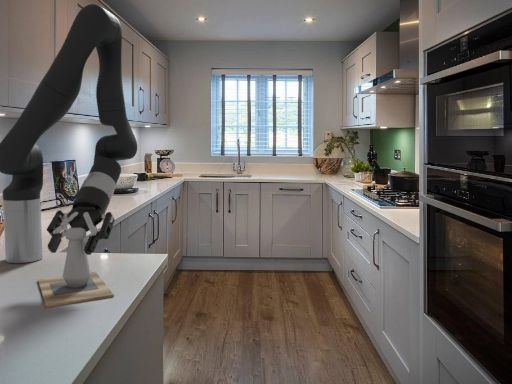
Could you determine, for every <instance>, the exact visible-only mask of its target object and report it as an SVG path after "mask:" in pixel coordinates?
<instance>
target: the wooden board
mask: <svg viewBox="0 0 512 384" xmlns="http://www.w3.org/2000/svg"><path fill="white" fill-rule="evenodd" d="M90 272H91V275H90V278H89V280H88V283H87V284H86V285H85V286H83V287H78V288H71V287H68V285H67V283H66V282H65V280H64V279H63V275H60V276H59V275H58V276H51V277H43V278H38V279H37V281H38V284H39V286H38V287H39V288H40V292H41V295H42V298H43V302H44V304H45V307H46V308H51V307H58V306H64V305H70V304H71V305H72V304H76V303H83V302H90V301H96V300H102V299H108V298H113V297H115V296H114V294H115V293H113V291H111V289H110V288H109V287H108V285H107V284H106V283H105V282H104V281H103V279H102V278H101V277H100V275H99V274H98V273H97V272H96V271H90Z"/></svg>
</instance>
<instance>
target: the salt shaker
mask: <svg viewBox="0 0 512 384" xmlns="http://www.w3.org/2000/svg"><path fill="white" fill-rule="evenodd" d="M69 228H70V229H68V230H67V231H66V233H65V239H66V240H68V244H67V252H66V256H65V262H64V268H63V273H62V274H63V275H62V276H63V279H64V280H65V282H66V283H67V285H68V287H71V288H78V287H83V286H85V285H86V284H87V283H88V280H89V278H90V275H91V272H92V271H91V269H90V264H89V259H88V255H87V254H86V253H85V252H84V248H85V245H86V244H85V240H84V239H86V237H87V232H86V230H85V229H84V228H79V227H76V228H71V227H69Z"/></svg>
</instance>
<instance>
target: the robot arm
mask: <svg viewBox="0 0 512 384" xmlns="http://www.w3.org/2000/svg"><path fill="white" fill-rule="evenodd" d="M122 30H123V29H122V25H121V22H120V20H119V19H118V18H117V17H116V15H114V14H113V13H111V12H110V11H108V10H107V9H105V8H104V7H103V6H101V5H98V4H95V3H90V4H87V5H85V6H83V7H82V8H81V9H80V10H79V11H78V13H77V15H76V16H75V18H74V20H73V22H72V25H71V26H70V29H69V31H68V33H67V36H66V37H65V40H64V42H63V44H62V46H61V48H60V49H59V51H58V53H57V55H56V56H55V58H54V59H53V61H52V63H51V65H50V66H49V69H48V70H47V71H46V73H45V74H44V76H43V78H42V80H40V82H39V84H38V86H37V87H36V89H35V91H34V92H33V94H32V96H31V97H30V98H31V99H30V100H29V101H28V103H27V104H26V106H25V108H24V109H23V111H22V112H21V114H20V116H19V117H18V119H17V121H16V122H15V123H14V125H13V126H12V127H11V128H10V130H8V132H7V133H6V135H5V136H4V138H2V140H1V141H0V173H1V174H4V175H7V176H12V179H11V182H10V184H9V185H8V186H7V187H5V188H4V189H3V191H2V205H3V206H2V208H3V209H2V210H3V229H4V251H5V252H4V253H5V262H6V263H9V264H25V263H33V262H37V261H39V260H41V259H43V233H42V231H43V230H42V208H41V205H42V203H41V192H42V191H43V186H44V158H43V153H42V152H43V151H42V150H41V148H40V147H39V146H38V144H36V143H37V142H38V140H39V139H40V138H41V136H43V134H45V133H46V132H47V131H48V130H49V129H50V128H52V127H53V126H54V125H56V124H57V123H58V122H60V120H62V118H64V117H65V116H66V115H67V113H68V111H69V110H70V109H71V107H72V106H73V104H74V103H75V101H76V99H78V96H79V95H80V94H79V93H80V91H81V87H82V81H83V75H84V69H85V66H86V64H87V61H88V59H89V58H90V56H91V55H92V52H93V51H94V50H95V51H96V52H97V53H96V54H97V57H98V65H99V66H98V68H99V69H98V75H97V81H96V89H95V96H96V97H95V98H96V106H97V113H98V120H99V122H100V124H101V125H103V126H106V127H113V128H114V130H115V132H116V133H115V134H109V135H107V134H106V135H103V136H102V137H100V138H99V139H98V141H96V144H95V148H94V157H93V162H92V163H93V165H92V166H91V168H90V170H89V172H88V174H87V176H86V178H84V180H83V182H82V184H81V186H80V187H79V188H80V189H79V190H78V192H77V195H76V196H75V199H74V200H73V203H72V208H71V210H70V211H69V212H68V213H67V212H63V211H62V210H61V209H58V210H57V211H56V212H55V214H54V216H53V217H52V219H51V221H50V223H49V224H48V226H47V227H46V231H47V232H48V233H49V234H50V236H51V238H50V239H49V241H48V243H47V249H48V250H49V252H50V253H52V254H56V253H57V251H58V249H59V247H60V245H61V242H62V241H63V240H62V239H63V238H64V237H65V238H66V236H65V233H66V231H67V230H68V229H70V228H76V227H79V228H84V229H85V230H86V233H88V232H90V235H89V236H88V238H87V242H86V244H85V248H84V252H85V253H86V254H87V256H91V255H92V253H94V252H95V250H96V248H97V245H98V243H99V241H101V240H102V239H103V240H108V239H109V238H110V236H111V233H112V230H113V226H114V223H115V221H116V220H115V217H114V215H113V214H112V212H111V211H108V212H107V209H108V207H109V204H110V202H111V201H112V199H113V195H114V194H115V193H114V192H115V190H116V185H117V184H118V180H119V178H120V176H121V173H122V167H121V165H120V163H119V161H124V160H125V161H126V160H132V159H133V158H134V157H135V156H136V155H137V152H138V142H137V141H138V140H137V139H136V137H135V135H134V132H133V130H132V127H131V125H130V122H129V119H128V115H127V111H126V103H125V102H126V101H125V96H124V95H125V94H124V86H123V85H124V84H123V73H122V70H123V69H122V48H123V47H122V46H123V31H122ZM101 222H102V224H101ZM99 224H101V228H100V230H98V227H97V226H98V225H99ZM68 225H69V226H70V227H68Z"/></svg>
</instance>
